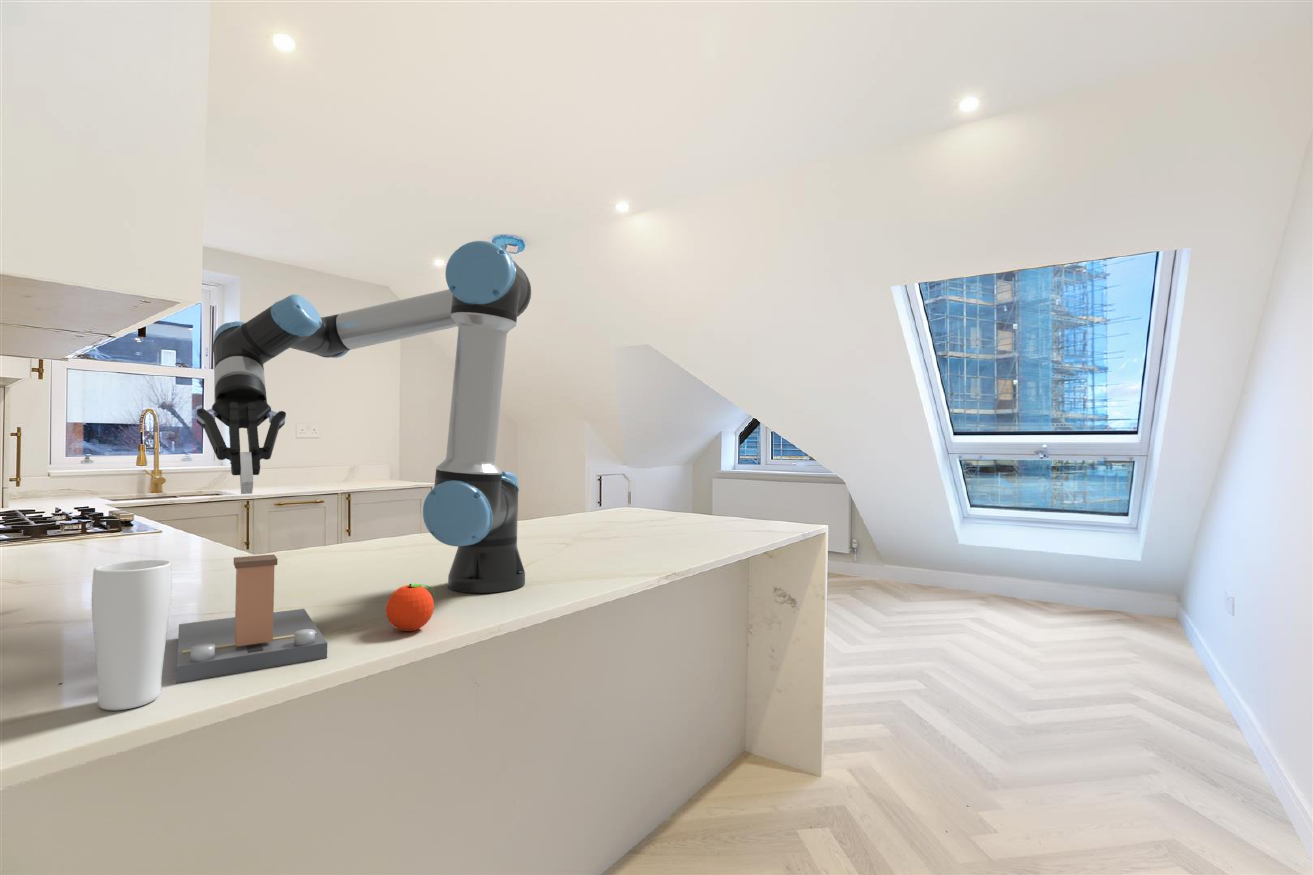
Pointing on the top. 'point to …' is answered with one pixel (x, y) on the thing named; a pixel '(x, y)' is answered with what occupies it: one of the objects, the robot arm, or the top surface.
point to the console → (246, 646)
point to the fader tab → (254, 599)
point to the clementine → (410, 607)
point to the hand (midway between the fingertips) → (247, 487)
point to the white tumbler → (130, 630)
